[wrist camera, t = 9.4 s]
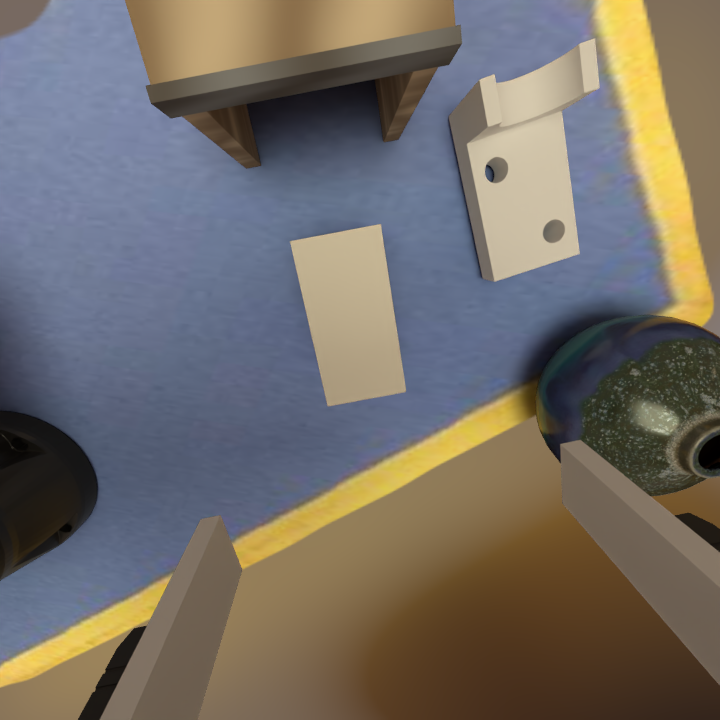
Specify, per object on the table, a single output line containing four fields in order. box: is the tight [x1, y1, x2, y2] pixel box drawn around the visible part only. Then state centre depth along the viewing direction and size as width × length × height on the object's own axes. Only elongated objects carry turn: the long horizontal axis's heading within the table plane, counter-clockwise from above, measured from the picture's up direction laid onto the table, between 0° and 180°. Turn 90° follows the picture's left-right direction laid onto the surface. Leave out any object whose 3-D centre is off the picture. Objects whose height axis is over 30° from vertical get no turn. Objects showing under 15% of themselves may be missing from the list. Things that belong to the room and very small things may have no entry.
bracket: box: [449, 38, 599, 282], centre depth 27 cm, size 13×7×8 cm, turn 18°
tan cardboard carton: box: [290, 224, 406, 406], centre depth 27 cm, size 5×10×12 cm, turn 10°
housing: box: [125, 0, 462, 169], centre depth 20 cm, size 13×10×16 cm
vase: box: [535, 315, 720, 496], centre depth 30 cm, size 15×15×13 cm
